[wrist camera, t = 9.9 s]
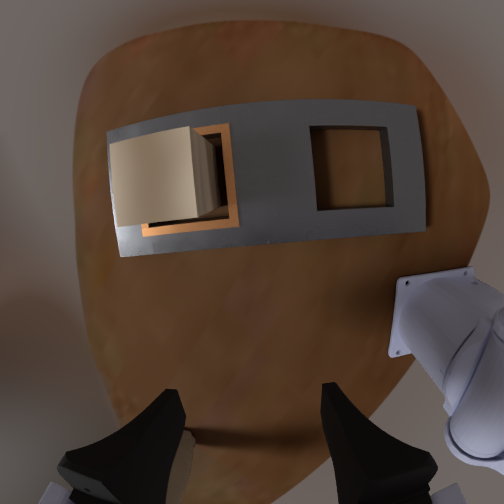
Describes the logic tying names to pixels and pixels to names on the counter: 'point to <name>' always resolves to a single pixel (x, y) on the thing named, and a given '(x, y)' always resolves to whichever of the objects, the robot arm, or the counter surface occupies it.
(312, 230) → the grey board with holes
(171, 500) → the handle
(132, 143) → the peg
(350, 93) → the counter surface
